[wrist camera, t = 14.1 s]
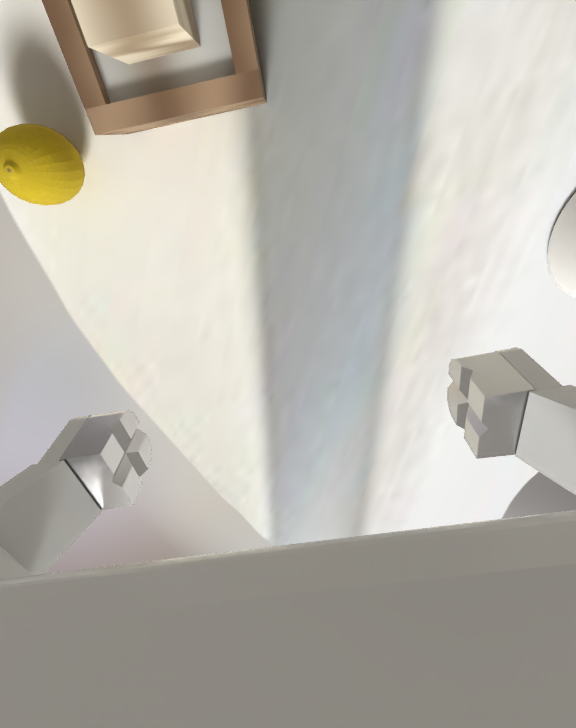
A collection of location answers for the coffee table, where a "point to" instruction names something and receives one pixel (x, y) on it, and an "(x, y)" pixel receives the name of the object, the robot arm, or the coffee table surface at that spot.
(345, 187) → the coffee table surface
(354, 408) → the coffee table surface
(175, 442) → the coffee table surface
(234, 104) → the walnut frame
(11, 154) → the lemon
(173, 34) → the ash block
